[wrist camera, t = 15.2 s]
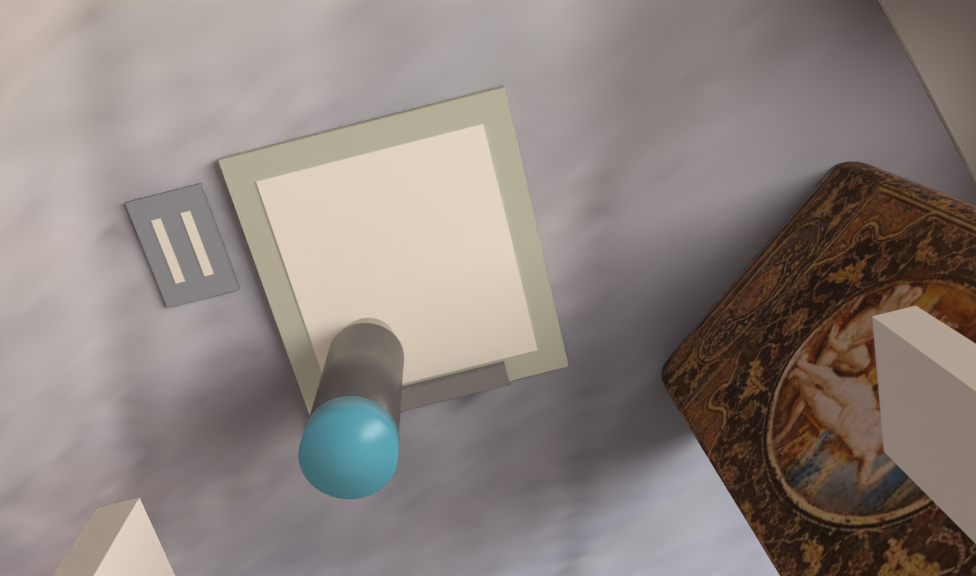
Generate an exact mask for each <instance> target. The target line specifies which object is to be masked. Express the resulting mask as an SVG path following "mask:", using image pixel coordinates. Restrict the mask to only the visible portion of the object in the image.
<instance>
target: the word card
mask: <svg viewBox="0 0 976 576" xmlns="http://www.w3.org/2000/svg"><path fill="white" fill-rule="evenodd" d="M125 205H126V207H127V210H128V212H129V214H130V217H131V219H132V222H133V224H134V227H135V229H136V232H137V234H138V237H139V239H140V242H141V244H142V247H143V249H144V252H145V254H146V256H147V259H148V261H149V264H150V266H151V269H152V271H153V274H154V276H155V279H156V281H157V284H158V286H159V289H160V291H161V294H162V296H163V298H164V301H165V303H166V306H167V308H168V307H172V306H176V305H180V304H184V303H188V302H192V301H196V300H200V299H204V298H208V297H212V296H216V295H220V294H224V293H228V292H232V291H236V290H239V285H238V283H237V280H236V277H235V275H234V272H233V269H232V266H231V264H230V261H229V258H228V256H227V253H226V250H225V247H224V245H223V242H222V239H221V237H220V234H219V231H218V228H217V226H216V223H215V220H214V218H213V215H212V212H211V209H210V207H209V204H208V201H207V199H206V196H205V193H204V191H203V188H202V185H201V183H199V184H195V185H191V186H187V187H183V188H180V189H176V190H172V191H168V192H164V193H160V194H156V195H152V196H148V197H144V198H140V199H136V200H132V201H128V202H126V203H125Z"/></svg>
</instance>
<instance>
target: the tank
mask: <svg viewBox="0 0 976 576" xmlns="http://www.w3.org/2000/svg"><path fill="white" fill-rule="evenodd" d="M878 1H879V3H880V5H881V6H882V8H883V10H884V12H885V14H886V16H887V18H888V20H889V22H890V23H891V25H892V27H893V29H894V31H895V33H896V35H897V37H898V39H899V40H900V42H901V44H902V46H903V48H904V50H905V52H906V54H907V56H908V57H909V59H910V61H911V63H912V65H913V67H914V69H915V71H916V72H917V74H918V76H919V78H920V80H921V82H922V84H923V86H924V88H925V89H926V91H927V93H928V95H929V97H930V99H931V101H932V103H933V105H934V106H935V108H936V110H937V112H938V114H939V116H940V118H941V120H942V122H943V123H944V125H945V127H946V129H947V131H948V133H949V135H950V137H951V139H952V140H953V142H954V144H955V146H956V148H957V150H958V152H959V154H960V156H961V157H962V159H963V161H964V163H965V165H966V167H967V169H968V171H969V173H970V174H971V176H972V178H973V180H974V182H975V184H976V0H878Z"/></svg>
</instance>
